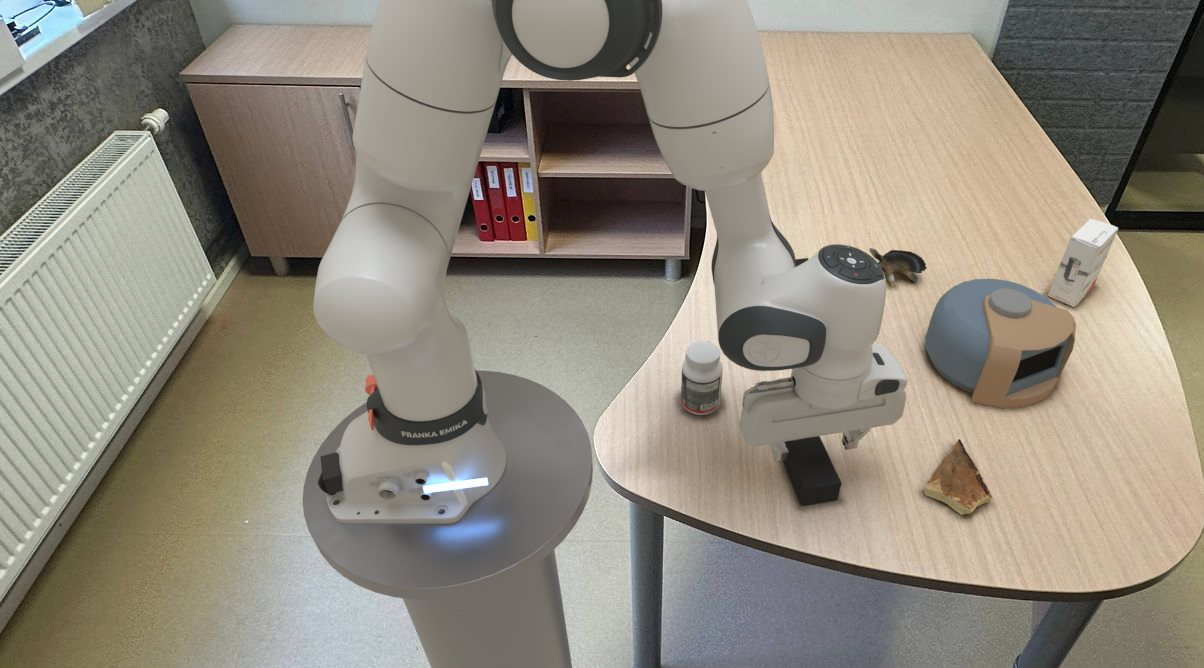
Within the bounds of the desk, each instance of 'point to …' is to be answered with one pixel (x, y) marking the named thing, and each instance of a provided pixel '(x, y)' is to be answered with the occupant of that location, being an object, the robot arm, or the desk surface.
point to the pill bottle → (701, 378)
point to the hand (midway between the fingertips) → (814, 451)
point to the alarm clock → (1000, 342)
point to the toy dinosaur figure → (900, 263)
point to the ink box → (1082, 261)
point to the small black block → (811, 471)
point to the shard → (958, 482)
